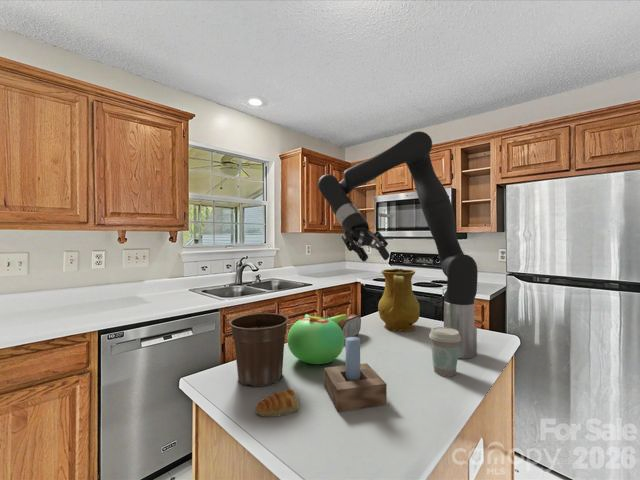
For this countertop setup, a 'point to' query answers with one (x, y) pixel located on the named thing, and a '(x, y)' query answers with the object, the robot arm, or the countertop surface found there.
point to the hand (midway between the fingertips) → (377, 258)
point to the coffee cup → (445, 350)
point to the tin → (350, 326)
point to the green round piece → (316, 339)
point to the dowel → (352, 359)
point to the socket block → (354, 388)
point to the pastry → (278, 404)
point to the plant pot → (259, 347)
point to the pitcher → (398, 301)
